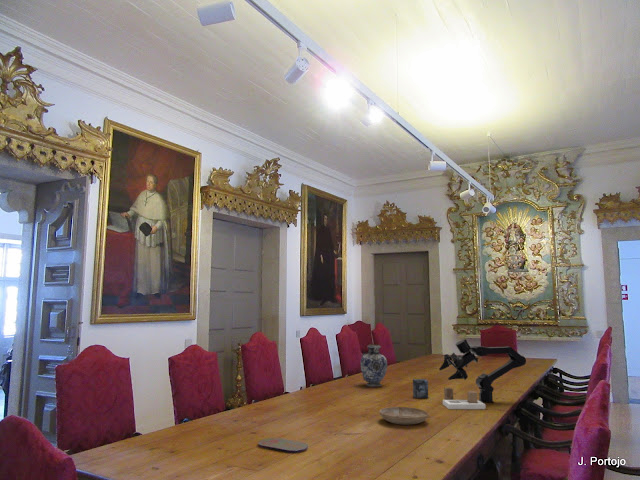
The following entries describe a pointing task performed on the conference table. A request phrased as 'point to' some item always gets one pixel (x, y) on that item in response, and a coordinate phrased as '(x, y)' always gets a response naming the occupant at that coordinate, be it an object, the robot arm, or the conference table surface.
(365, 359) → the decorative vase
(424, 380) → the box
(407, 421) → the ceramic bowl
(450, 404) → the white block with holes
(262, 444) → the conference table surface
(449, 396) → the beige rectangular block
